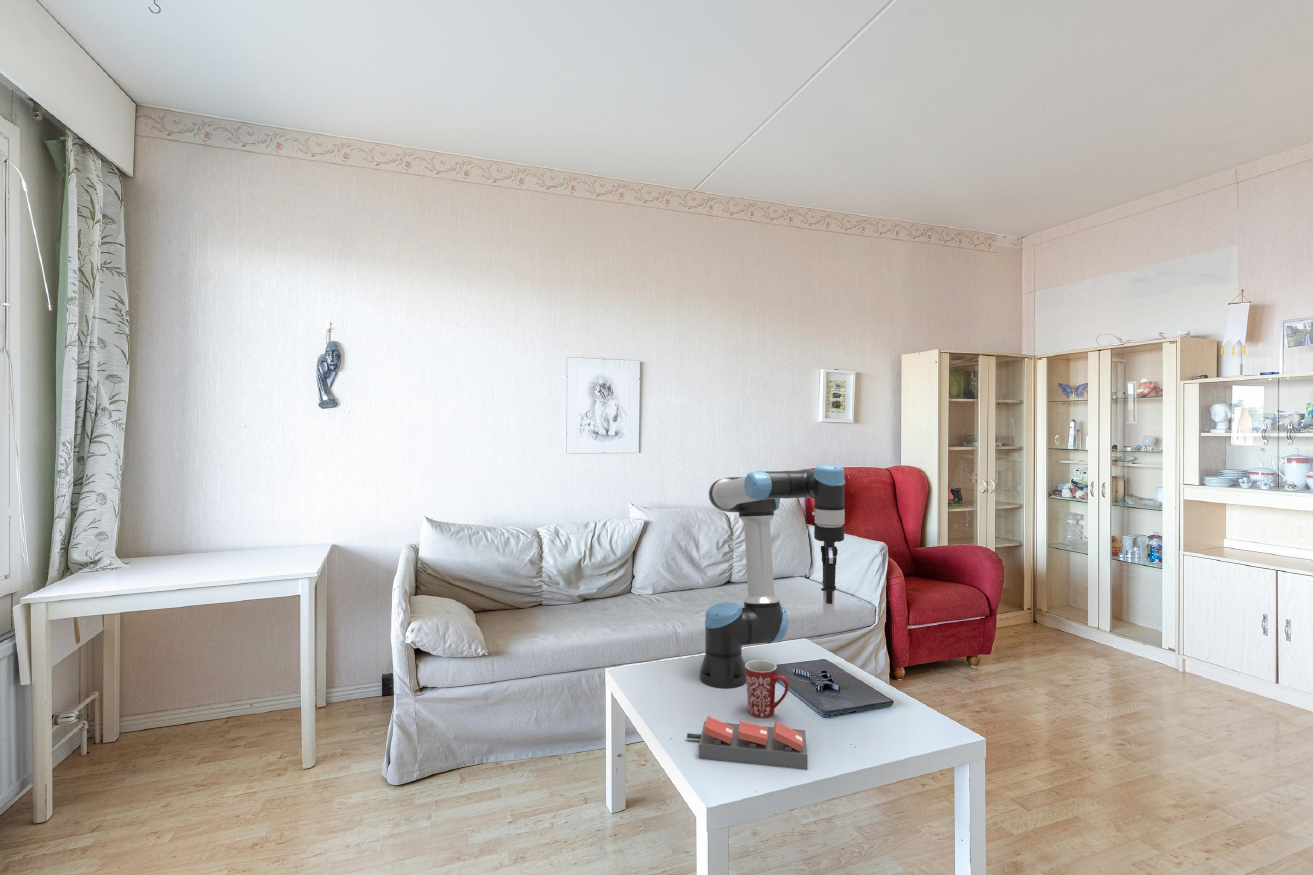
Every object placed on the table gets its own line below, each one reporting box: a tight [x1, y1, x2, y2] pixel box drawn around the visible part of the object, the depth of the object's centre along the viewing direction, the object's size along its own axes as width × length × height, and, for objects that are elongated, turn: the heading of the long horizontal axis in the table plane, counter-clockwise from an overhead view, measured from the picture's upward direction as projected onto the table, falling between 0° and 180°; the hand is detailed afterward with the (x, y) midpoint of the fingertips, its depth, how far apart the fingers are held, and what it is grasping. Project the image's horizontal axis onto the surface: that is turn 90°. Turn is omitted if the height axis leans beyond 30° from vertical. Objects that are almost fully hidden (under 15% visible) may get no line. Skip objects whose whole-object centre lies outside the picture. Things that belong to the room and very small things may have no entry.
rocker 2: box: [772, 720, 803, 752], centre depth 153 cm, size 6×7×2 cm
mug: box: [744, 659, 790, 719], centre depth 176 cm, size 13×9×14 cm
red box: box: [738, 720, 768, 745], centre depth 154 cm, size 6×7×2 cm
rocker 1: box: [703, 715, 734, 744], centre depth 156 cm, size 6×7×2 cm
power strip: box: [686, 720, 808, 770], centre depth 157 cm, size 12×30×5 cm, turn 79°
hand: (828, 614), depth 163 cm, fingers closed
